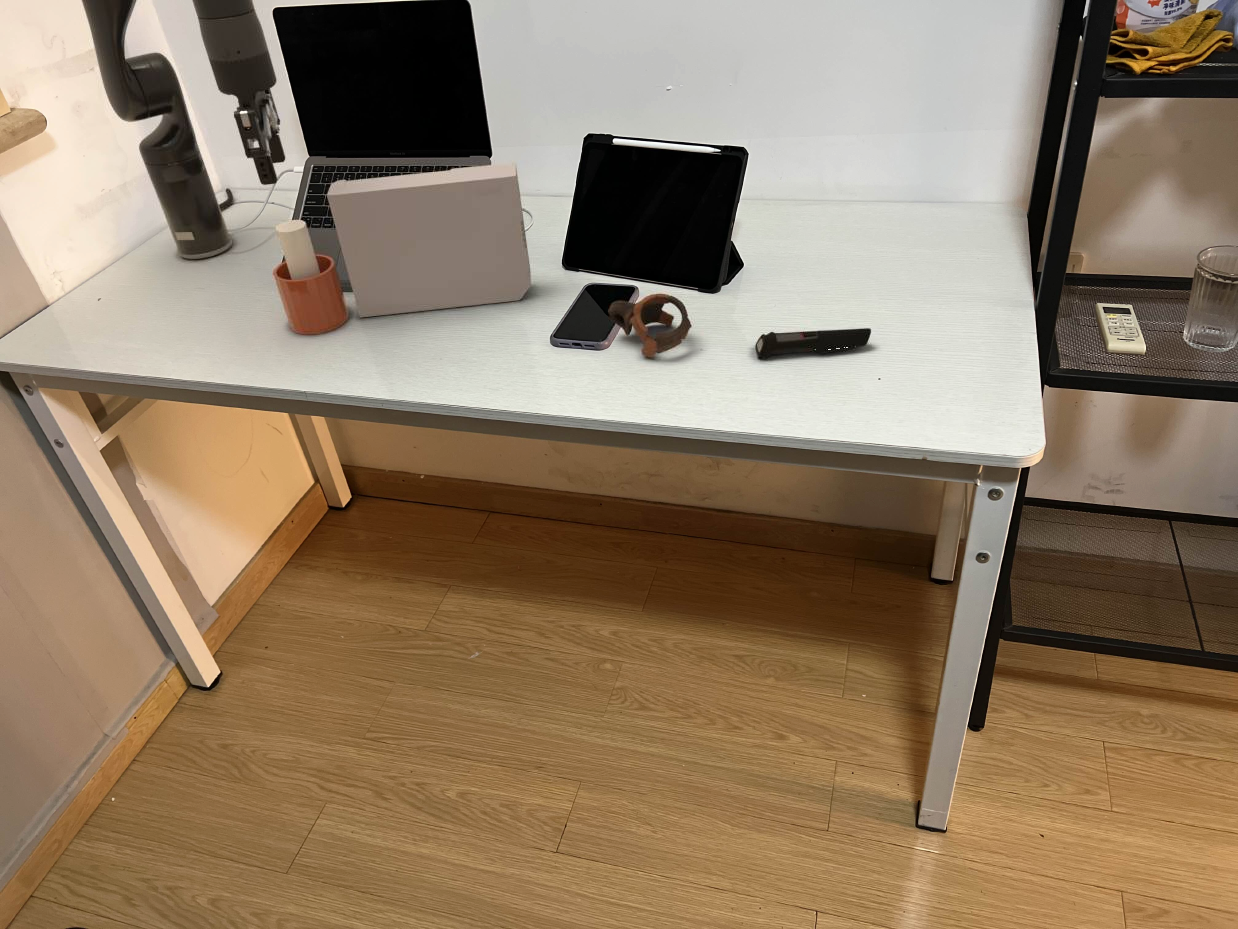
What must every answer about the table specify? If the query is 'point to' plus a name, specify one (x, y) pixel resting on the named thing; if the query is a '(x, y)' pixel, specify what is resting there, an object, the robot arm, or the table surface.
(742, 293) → the table surface
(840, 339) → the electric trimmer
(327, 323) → the pen cup
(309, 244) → the tube
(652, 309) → the brown ring bracket
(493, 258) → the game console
